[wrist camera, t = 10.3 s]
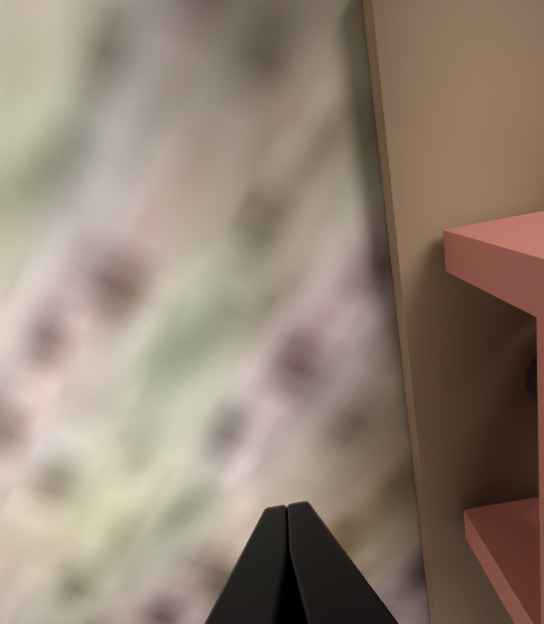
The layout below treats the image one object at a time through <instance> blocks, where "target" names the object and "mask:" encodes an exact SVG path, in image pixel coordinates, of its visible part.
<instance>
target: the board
mask: <svg viewBox="0 0 544 624" xmlns="http://www.w3.org/2000/svg"><path fill="white" fill-rule="evenodd" d="M362 3H363V13H364V22H365V31H366V40H367V49H368V58H369V67H370V77H371V86H372V95H373V104H374V113H375V122H376V131H377V140H378V150H379V159H380V168H381V177H382V186H383V195H384V204H385V214H386V223H387V232H388V241H389V250H390V259H391V268H392V278H393V287H394V296H395V305H396V314H397V323H398V332H399V342H400V351H401V360H402V369H403V378H404V387H405V396H406V406H407V415H408V424H409V433H410V442H411V451H412V460H413V470H414V479H415V488H416V497H417V506H418V515H419V524H420V533H421V543H422V552H423V561H424V570H425V579H426V588H427V597H428V607H429V616H430V624H514V622H513V620H512V618H511V617H510V615H509V613H508V611H507V610H506V608H505V606H504V604H503V603H502V601H501V599H500V597H499V596H498V594H497V592H496V590H495V589H494V587H493V585H492V583H491V582H490V580H489V578H488V576H487V575H486V573H485V571H484V569H483V568H482V566H481V564H480V562H479V561H478V559H477V557H476V555H475V553H474V552H473V550H472V548H471V546H470V545H469V543H468V541H467V539H466V537H465V523H464V510H465V509H471V508H476V507H482V506H488V505H494V504H500V503H506V502H512V501H518V500H524V499H530V498H535V497H539V452H538V404H537V403H535V402H534V401H533V400H532V399H531V398H530V396H529V394H528V392H527V389H526V384H525V379H526V373H527V370H528V367H529V365H530V363H531V362H532V360H533V359H534V358H535V356H536V355H537V318H536V317H535V316H533V315H531V314H529V313H527V312H525V311H523V310H521V309H519V308H517V307H515V306H513V305H511V304H509V303H507V302H505V301H503V300H501V299H499V298H497V297H495V296H493V295H492V294H490V293H488V292H486V291H484V290H482V289H480V288H478V287H476V286H474V285H472V284H470V283H468V282H466V281H464V280H462V279H460V278H458V277H456V276H454V275H452V274H450V273H448V272H446V266H445V253H444V239H443V230H445V229H450V228H455V227H460V226H466V225H471V224H476V223H482V222H487V221H492V220H498V219H503V218H508V217H514V216H519V215H524V214H530V213H535V212H540V211H544V0H362Z"/></svg>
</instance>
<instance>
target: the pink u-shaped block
mask: <svg viewBox="0 0 544 624" xmlns="http://www.w3.org/2000/svg"><path fill="white" fill-rule="evenodd" d="M443 239H444V253H445V266H446V272H448V273H450V274H452V275H454V276H456V277H458V278H460V279H462V280H464V281H466V282H468V283H470V284H472V285H474V286H476V287H478V288H480V289H482V290H484V291H486V292H488V293H490V294H492V295H493V296H495V297H497V298H499V299H501V300H503V301H505V302H507V303H509V304H511V305H513V306H515V307H517V308H519V309H521V310H523V311H525V312H527V313H529V314H531V315H533V316H535V317H536V318H537V385H538V452H539V497H535V498H530V499H524V500H518V501H512V502H506V503H500V504H494V505H488V506H482V507H476V508H471V509H465V510H464V523H465V537H466V539H467V541H468V543H469V545H470V546H471V548H472V550H473V552H474V553H475V555H476V557H477V559H478V561H479V562H480V564H481V566H482V568H483V569H484V571H485V573H486V575H487V576H488V578H489V580H490V582H491V583H492V585H493V587H494V589H495V590H496V592H497V594H498V596H499V597H500V599H501V601H502V603H503V604H504V606H505V608H506V610H507V611H508V613H509V615H510V617H511V618H512V620H513V622H514V624H544V211H540V212H535V213H530V214H524V215H519V216H514V217H508V218H503V219H498V220H492V221H487V222H482V223H476V224H471V225H466V226H460V227H455V228H450V229H445V230H443Z"/></svg>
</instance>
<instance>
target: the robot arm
mask: <svg viewBox="0 0 544 624" xmlns="http://www.w3.org/2000/svg"><path fill="white" fill-rule="evenodd" d="M205 624H398V622H397V621H396V620H395V618H394V617H393V616H392V614H391V613H390V612H389V610H388V609H387V607H386V606H385V605H384V603H383V602H382V601H381V599H380V598H379V597H378V595H377V594H376V593H375V591H374V590H373V589H372V587H371V586H370V585H369V583H368V582H367V580H366V579H365V578H364V576H363V575H362V574H361V572H360V571H359V570H358V568H357V567H356V566H355V564H354V563H353V562H352V560H351V559H350V557H349V556H348V555H347V553H346V552H345V551H344V549H343V548H342V547H341V545H340V544H339V543H338V541H337V540H336V539H335V537H334V536H333V535H332V533H331V532H330V530H329V529H328V528H327V526H326V525H325V524H324V522H323V521H322V520H321V518H320V517H319V516H318V514H317V513H316V512H315V510H314V509H313V508H312V506H311V505H310V504H309V503H308V502H307V501H303V502H297V503H291V504H289V505H288V506H287V507H286V506H285V505H279V506H273V507H268V508H266V509H265V510H264V512H263V513H262V515H261V517H260V519H259V521H258V523H257V525H256V527H255V529H254V531H253V532H252V534H251V536H250V538H249V540H248V542H247V544H246V546H245V548H244V550H243V551H242V553H241V555H240V557H239V559H238V561H237V563H236V565H235V567H234V569H233V570H232V572H231V574H230V576H229V578H228V580H227V582H226V584H225V586H224V588H223V589H222V591H221V593H220V595H219V597H218V599H217V601H216V603H215V605H214V607H213V608H212V610H211V612H210V614H209V616H208V618H207V620H206V622H205Z"/></svg>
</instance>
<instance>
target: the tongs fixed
mask: <svg viewBox="0 0 544 624" xmlns="http://www.w3.org/2000/svg"><path fill="white" fill-rule="evenodd" d="M525 384H526V389H527V392H528V394H529V396H530V398H531V399H532V400H533V401H534V402H535V403H537V404H538V385H537V355H536V356H535V358H534V359H533V360H532V362H531V363H530V365H529V367H528V370H527V373H526V379H525Z"/></svg>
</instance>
